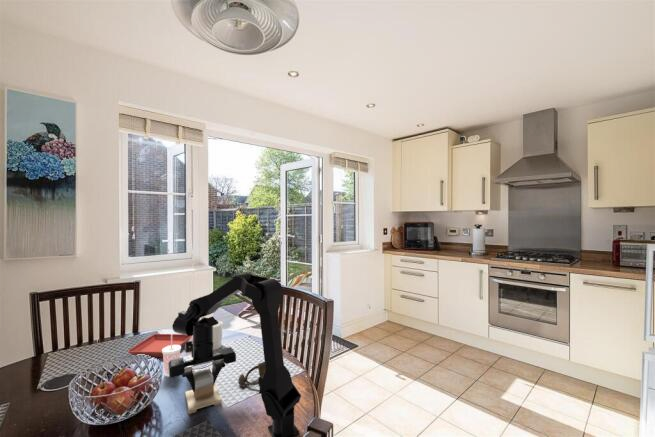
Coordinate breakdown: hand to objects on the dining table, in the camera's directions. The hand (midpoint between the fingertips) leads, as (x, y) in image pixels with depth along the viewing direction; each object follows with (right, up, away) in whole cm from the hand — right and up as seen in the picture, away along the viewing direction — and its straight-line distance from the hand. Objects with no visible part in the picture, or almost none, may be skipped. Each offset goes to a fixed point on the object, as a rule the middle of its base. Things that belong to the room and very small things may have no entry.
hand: (203, 388), depth 93 cm
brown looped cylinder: (+15, -4, +11) cm, 19 cm away
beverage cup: (-18, -4, +16) cm, 24 cm away
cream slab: (0, -4, 0) cm, 4 cm away
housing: (0, -1, 0) cm, 1 cm away
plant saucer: (-32, -4, +36) cm, 48 cm away
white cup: (-11, -3, +38) cm, 39 cm away
